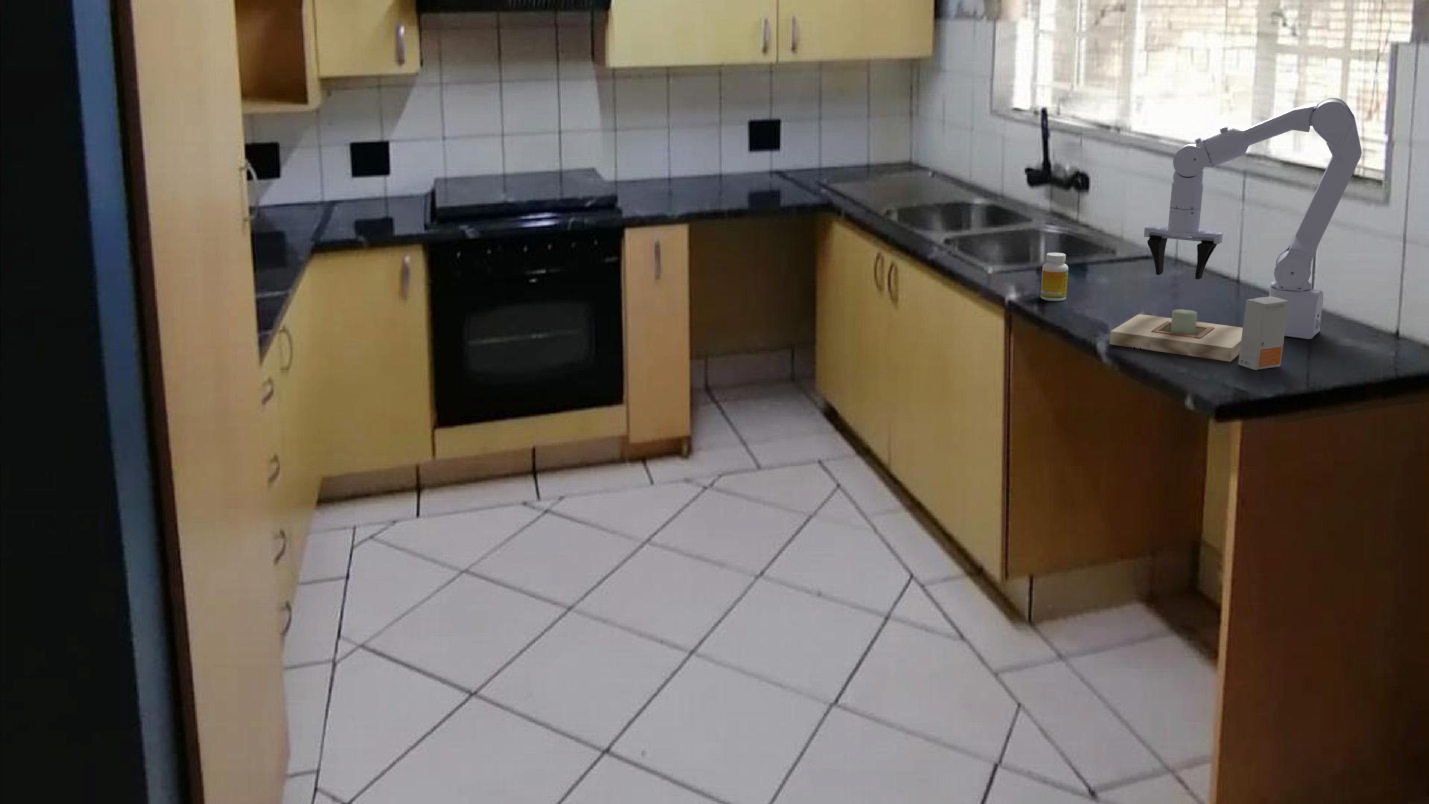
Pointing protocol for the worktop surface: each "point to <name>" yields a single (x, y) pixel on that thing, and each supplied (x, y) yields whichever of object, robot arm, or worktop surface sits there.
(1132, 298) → the worktop surface
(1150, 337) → the hole plate
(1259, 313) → the skincare box
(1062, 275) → the supplement bottle
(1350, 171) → the robot arm
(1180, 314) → the green peg
